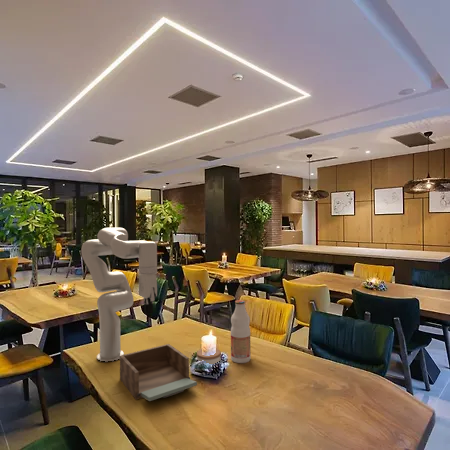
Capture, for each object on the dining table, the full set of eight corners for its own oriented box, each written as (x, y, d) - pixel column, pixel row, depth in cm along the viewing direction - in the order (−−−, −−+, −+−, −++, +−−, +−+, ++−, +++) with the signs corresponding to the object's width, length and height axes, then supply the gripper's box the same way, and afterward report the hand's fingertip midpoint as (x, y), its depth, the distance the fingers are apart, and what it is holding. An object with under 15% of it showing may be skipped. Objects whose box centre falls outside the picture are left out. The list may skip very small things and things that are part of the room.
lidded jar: (199, 376, 137) (199, 354, 137) (194, 365, 148) (194, 345, 148) (223, 373, 140) (223, 351, 140) (217, 363, 151) (217, 343, 151)
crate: (120, 379, 135) (119, 355, 135) (168, 365, 148) (168, 343, 148) (137, 401, 119) (136, 374, 118) (190, 383, 131) (190, 359, 131)
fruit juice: (240, 365, 148) (239, 304, 148) (226, 358, 155) (226, 300, 155) (254, 359, 154) (254, 301, 154) (241, 353, 161) (240, 297, 161)
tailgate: (140, 392, 120) (149, 397, 113) (186, 377, 131) (196, 381, 124) (141, 398, 120) (149, 403, 113) (187, 383, 131) (197, 387, 124)
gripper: (133, 269, 142) (134, 310, 142) (146, 273, 130) (146, 318, 130) (149, 267, 146) (150, 307, 147) (163, 271, 134) (163, 315, 134)
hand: (148, 312), depth 138 cm, fingers closed
